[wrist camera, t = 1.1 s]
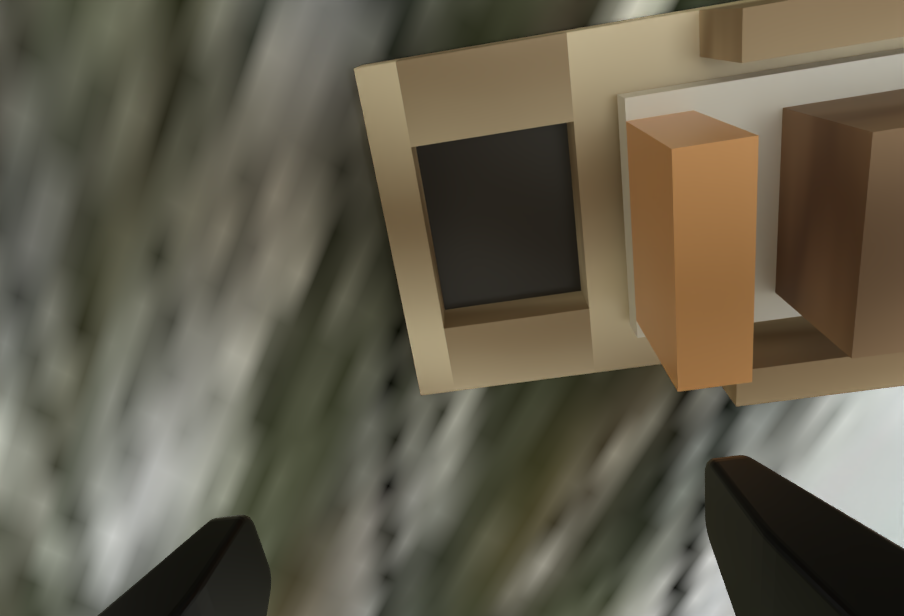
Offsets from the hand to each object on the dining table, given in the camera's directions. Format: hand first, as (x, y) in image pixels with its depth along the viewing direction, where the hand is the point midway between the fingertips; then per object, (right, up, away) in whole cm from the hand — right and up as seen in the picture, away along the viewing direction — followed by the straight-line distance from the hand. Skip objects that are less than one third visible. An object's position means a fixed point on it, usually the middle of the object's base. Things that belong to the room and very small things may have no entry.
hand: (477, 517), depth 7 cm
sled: (+8, +5, +9) cm, 13 cm away
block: (+10, +5, +8) cm, 13 cm away
